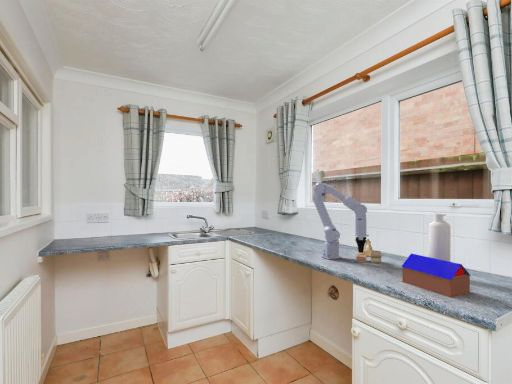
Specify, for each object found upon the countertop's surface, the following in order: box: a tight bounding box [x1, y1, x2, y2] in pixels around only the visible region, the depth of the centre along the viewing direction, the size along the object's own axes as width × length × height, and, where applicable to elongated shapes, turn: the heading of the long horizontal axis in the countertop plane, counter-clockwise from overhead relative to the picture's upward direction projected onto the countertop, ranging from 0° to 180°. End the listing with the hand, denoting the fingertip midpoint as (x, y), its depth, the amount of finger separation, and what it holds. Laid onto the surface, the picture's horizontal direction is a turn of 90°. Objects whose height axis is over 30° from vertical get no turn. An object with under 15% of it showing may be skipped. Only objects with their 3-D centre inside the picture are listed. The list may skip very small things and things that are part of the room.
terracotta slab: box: [355, 254, 367, 263], centre depth 154 cm, size 5×5×3 cm
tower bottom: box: [370, 257, 382, 265], centre depth 151 cm, size 5×5×3 cm
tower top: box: [370, 250, 382, 260], centre depth 151 cm, size 5×5×3 cm
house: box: [401, 253, 472, 299], centre depth 110 cm, size 12×20×12 cm, turn 24°
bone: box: [356, 238, 375, 258], centre depth 171 cm, size 10×10×15 cm
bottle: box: [428, 213, 451, 262], centre depth 125 cm, size 8×8×28 cm
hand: (360, 251), depth 154 cm, fingers open, 7 cm apart
